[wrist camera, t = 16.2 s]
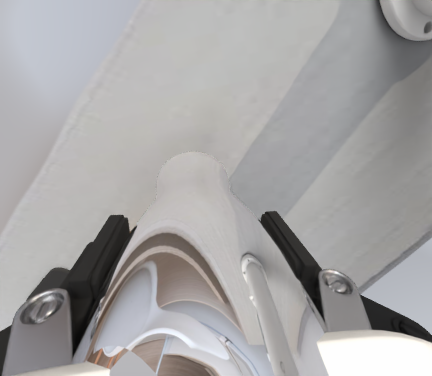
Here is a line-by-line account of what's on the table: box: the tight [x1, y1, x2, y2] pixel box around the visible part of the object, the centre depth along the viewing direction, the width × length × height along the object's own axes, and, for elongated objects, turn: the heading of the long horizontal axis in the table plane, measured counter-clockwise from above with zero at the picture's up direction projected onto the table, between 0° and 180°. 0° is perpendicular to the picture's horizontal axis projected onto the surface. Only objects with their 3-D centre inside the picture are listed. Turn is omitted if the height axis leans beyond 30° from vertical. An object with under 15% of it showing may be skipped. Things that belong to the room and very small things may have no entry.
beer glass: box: [70, 151, 329, 376], centre depth 10 cm, size 7×7×15 cm
